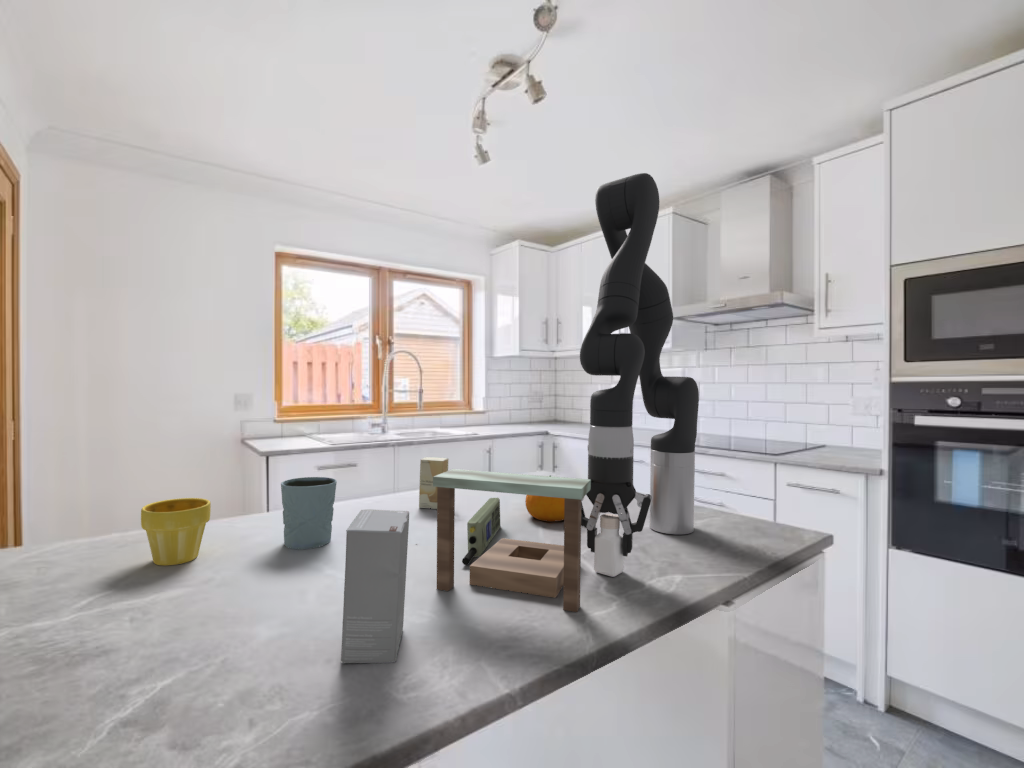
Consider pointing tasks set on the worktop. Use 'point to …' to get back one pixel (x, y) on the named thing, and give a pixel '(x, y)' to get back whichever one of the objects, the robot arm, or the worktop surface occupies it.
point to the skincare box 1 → (374, 586)
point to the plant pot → (175, 528)
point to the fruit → (545, 507)
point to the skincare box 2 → (430, 480)
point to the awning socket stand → (515, 559)
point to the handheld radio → (482, 528)
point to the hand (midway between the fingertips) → (609, 552)
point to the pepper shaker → (609, 547)
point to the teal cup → (308, 511)
